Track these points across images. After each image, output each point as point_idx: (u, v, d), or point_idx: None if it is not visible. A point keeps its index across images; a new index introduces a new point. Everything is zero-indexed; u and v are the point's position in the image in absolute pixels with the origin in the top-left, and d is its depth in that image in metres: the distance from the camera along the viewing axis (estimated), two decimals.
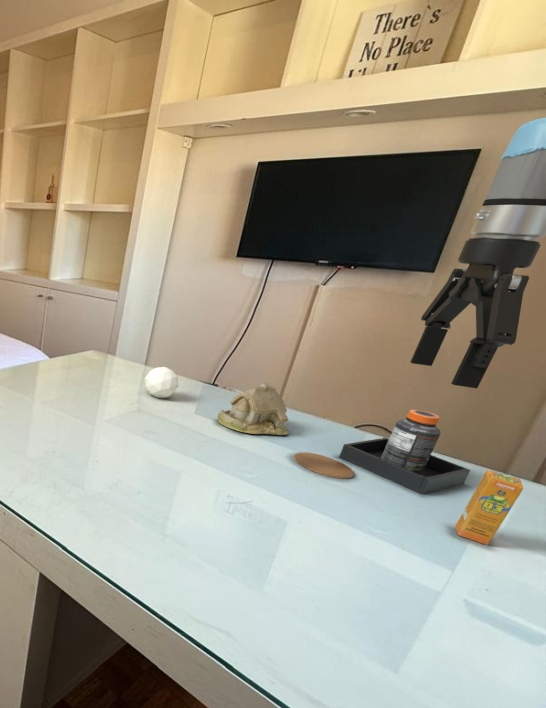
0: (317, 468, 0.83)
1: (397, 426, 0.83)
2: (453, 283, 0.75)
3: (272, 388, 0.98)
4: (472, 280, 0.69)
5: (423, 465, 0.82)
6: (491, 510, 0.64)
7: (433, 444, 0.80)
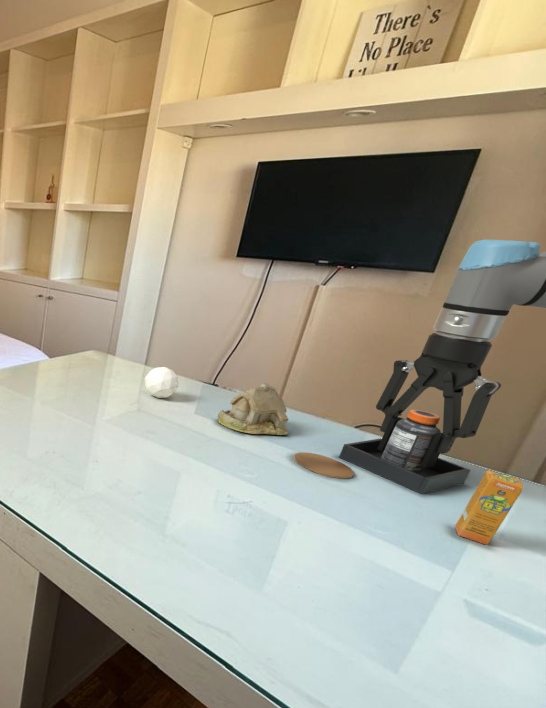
0: (317, 468, 0.83)
1: (397, 426, 0.83)
2: (402, 372, 0.83)
3: (272, 388, 0.98)
4: (448, 374, 0.77)
5: None
6: (491, 510, 0.64)
7: None
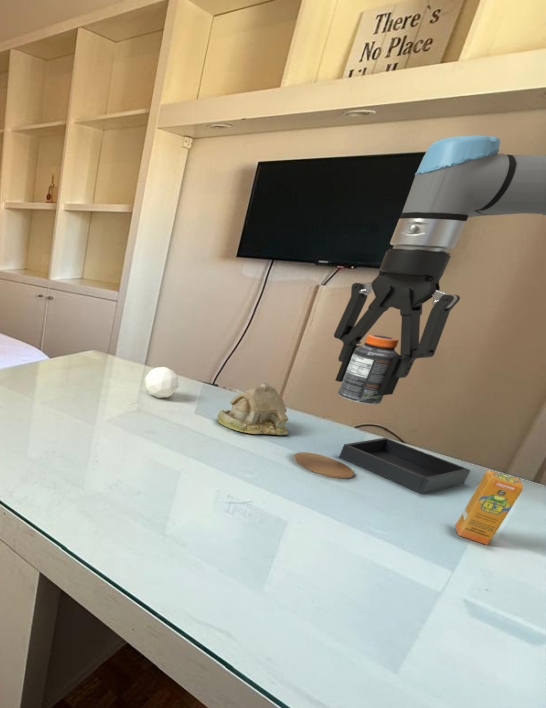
0: (317, 468, 0.83)
1: (355, 352, 0.78)
2: (360, 295, 0.78)
3: (272, 388, 0.98)
4: (405, 290, 0.72)
5: None
6: (491, 510, 0.64)
7: None
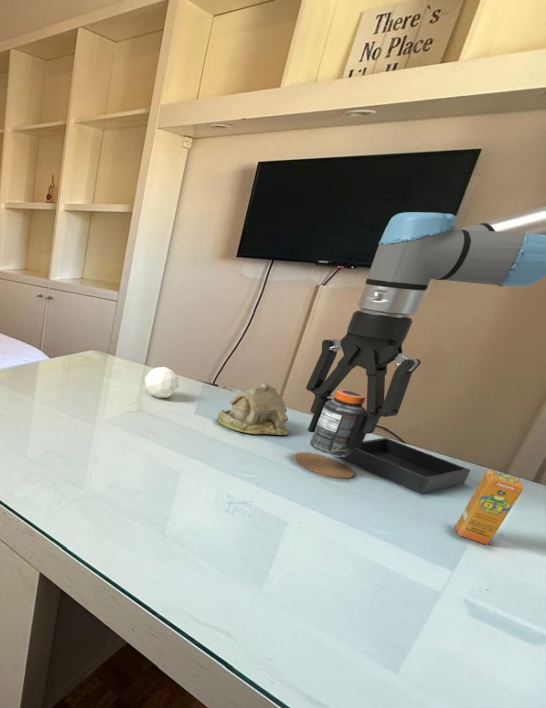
0: (317, 468, 0.83)
1: (325, 406, 0.82)
2: (329, 352, 0.82)
3: (272, 388, 0.98)
4: (370, 352, 0.75)
5: None
6: (491, 510, 0.64)
7: None
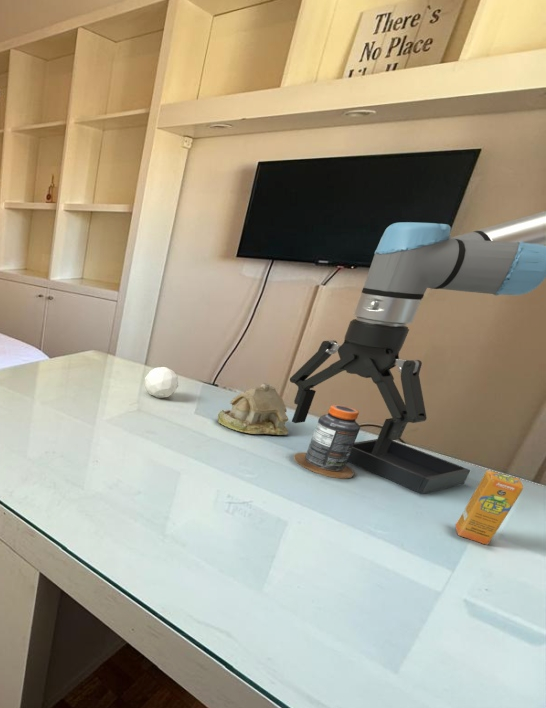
0: (317, 468, 0.83)
1: (319, 421, 0.83)
2: (325, 353, 0.83)
3: (272, 388, 0.98)
4: (367, 360, 0.76)
5: (344, 461, 0.81)
6: (491, 510, 0.64)
7: (352, 439, 0.80)
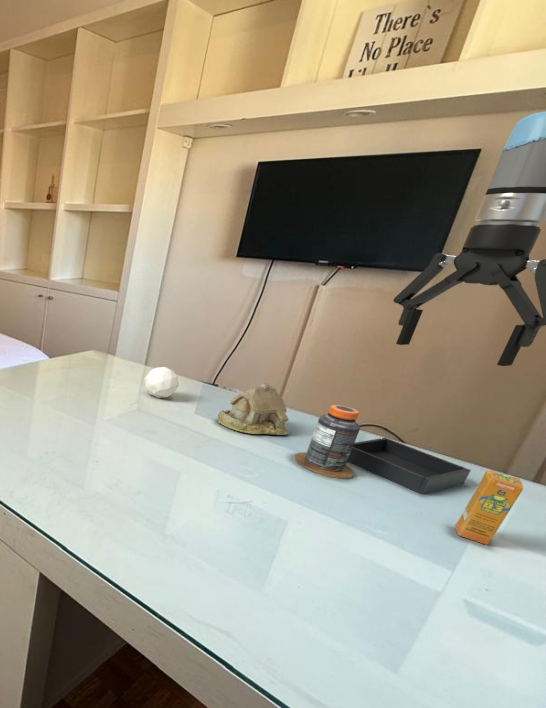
0: (317, 468, 0.83)
1: (319, 421, 0.83)
2: (437, 267, 0.79)
3: (272, 388, 0.98)
4: (493, 265, 0.72)
5: (344, 461, 0.81)
6: (491, 510, 0.64)
7: (352, 439, 0.80)
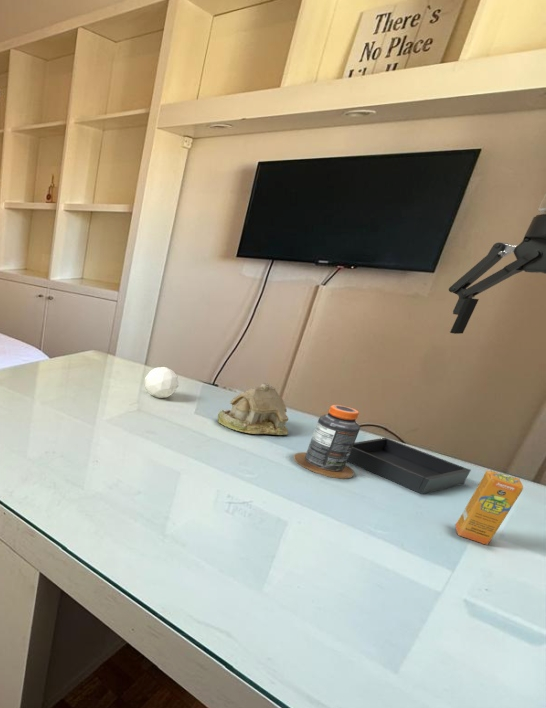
0: (317, 468, 0.83)
1: (319, 421, 0.83)
2: (496, 256, 0.80)
3: (272, 388, 0.98)
4: None
5: (344, 461, 0.81)
6: (491, 510, 0.64)
7: (352, 439, 0.80)
